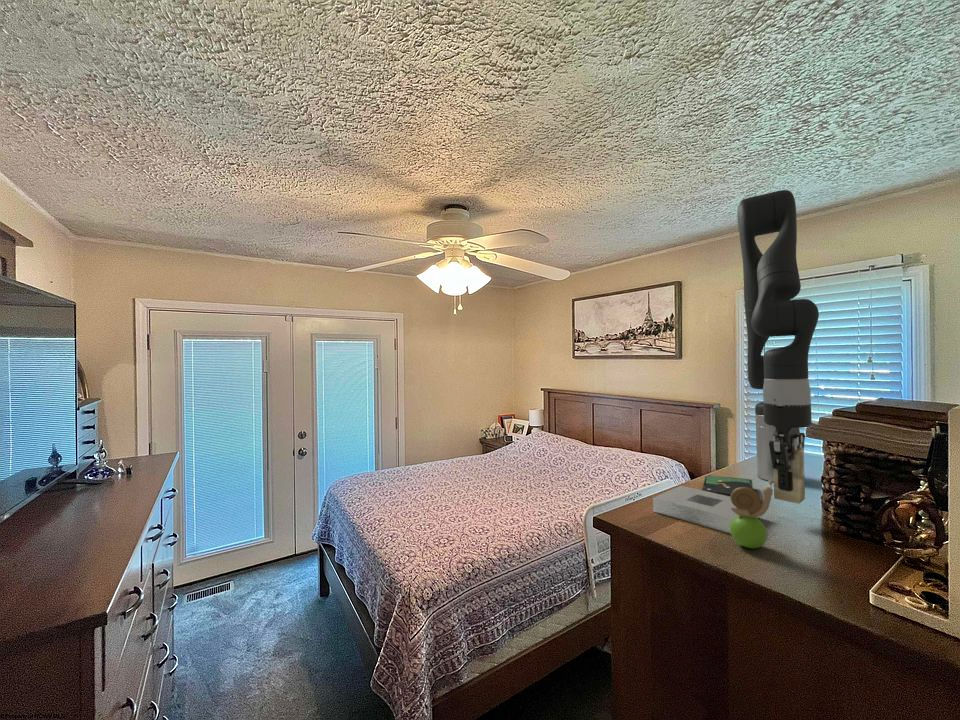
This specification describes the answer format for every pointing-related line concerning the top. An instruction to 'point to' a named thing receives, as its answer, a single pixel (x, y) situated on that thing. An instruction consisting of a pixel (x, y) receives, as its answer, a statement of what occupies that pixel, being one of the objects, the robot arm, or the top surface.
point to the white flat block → (697, 507)
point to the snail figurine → (749, 516)
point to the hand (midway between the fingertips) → (789, 487)
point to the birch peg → (798, 481)
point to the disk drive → (724, 484)
